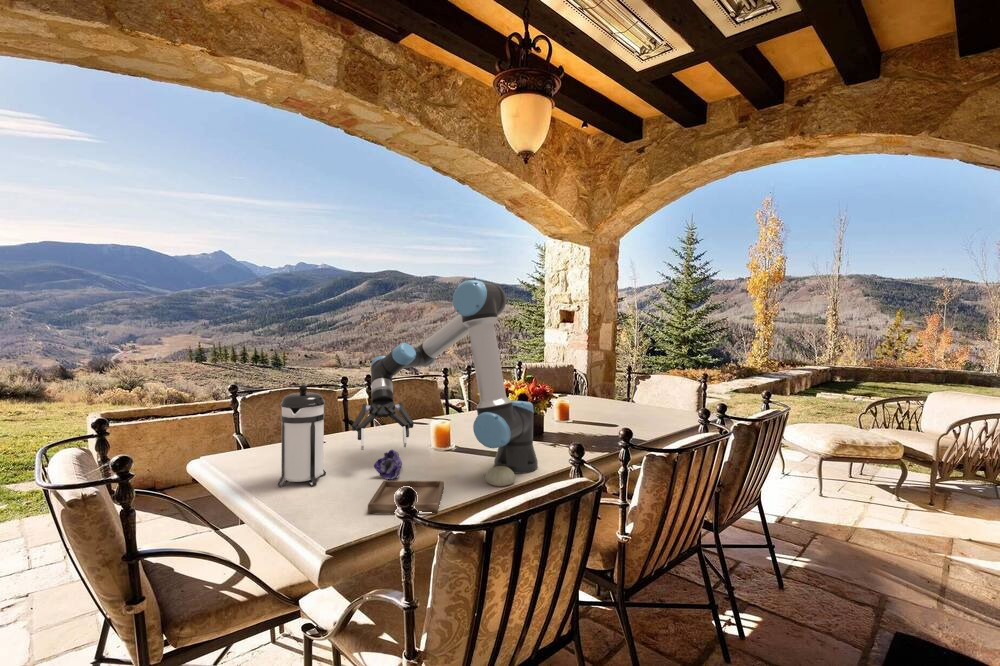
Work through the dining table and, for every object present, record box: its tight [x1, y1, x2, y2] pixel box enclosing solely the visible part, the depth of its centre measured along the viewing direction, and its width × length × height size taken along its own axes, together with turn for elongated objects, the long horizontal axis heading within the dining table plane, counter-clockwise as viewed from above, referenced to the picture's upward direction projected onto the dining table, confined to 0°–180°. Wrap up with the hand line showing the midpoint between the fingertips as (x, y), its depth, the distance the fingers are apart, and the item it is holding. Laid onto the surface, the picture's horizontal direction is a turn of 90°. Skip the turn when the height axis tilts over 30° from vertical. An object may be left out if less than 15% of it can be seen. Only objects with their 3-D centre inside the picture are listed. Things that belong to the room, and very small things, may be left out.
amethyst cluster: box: [373, 449, 403, 481], centre depth 148 cm, size 9×9×10 cm
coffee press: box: [277, 384, 327, 488], centre depth 143 cm, size 17×16×30 cm
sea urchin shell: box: [484, 466, 516, 487], centre depth 143 cm, size 9×8×8 cm
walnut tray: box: [367, 480, 445, 515], centre depth 128 cm, size 18×18×2 cm
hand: (384, 446), depth 150 cm, fingers open, 13 cm apart
